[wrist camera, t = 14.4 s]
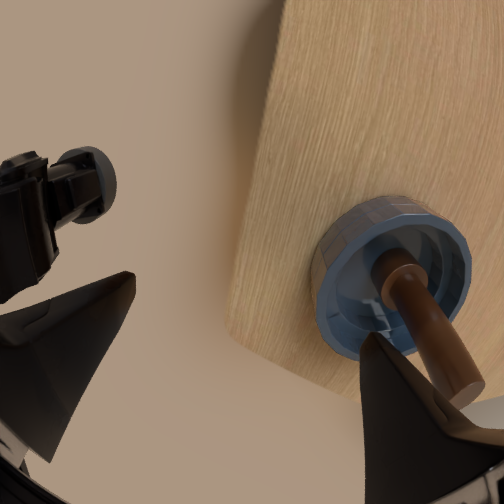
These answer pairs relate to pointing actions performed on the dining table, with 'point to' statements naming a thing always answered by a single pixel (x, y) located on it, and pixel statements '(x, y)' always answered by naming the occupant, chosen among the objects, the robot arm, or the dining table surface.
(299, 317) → the dining table surface
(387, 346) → the robot arm
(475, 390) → the pestle
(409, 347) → the bowl
